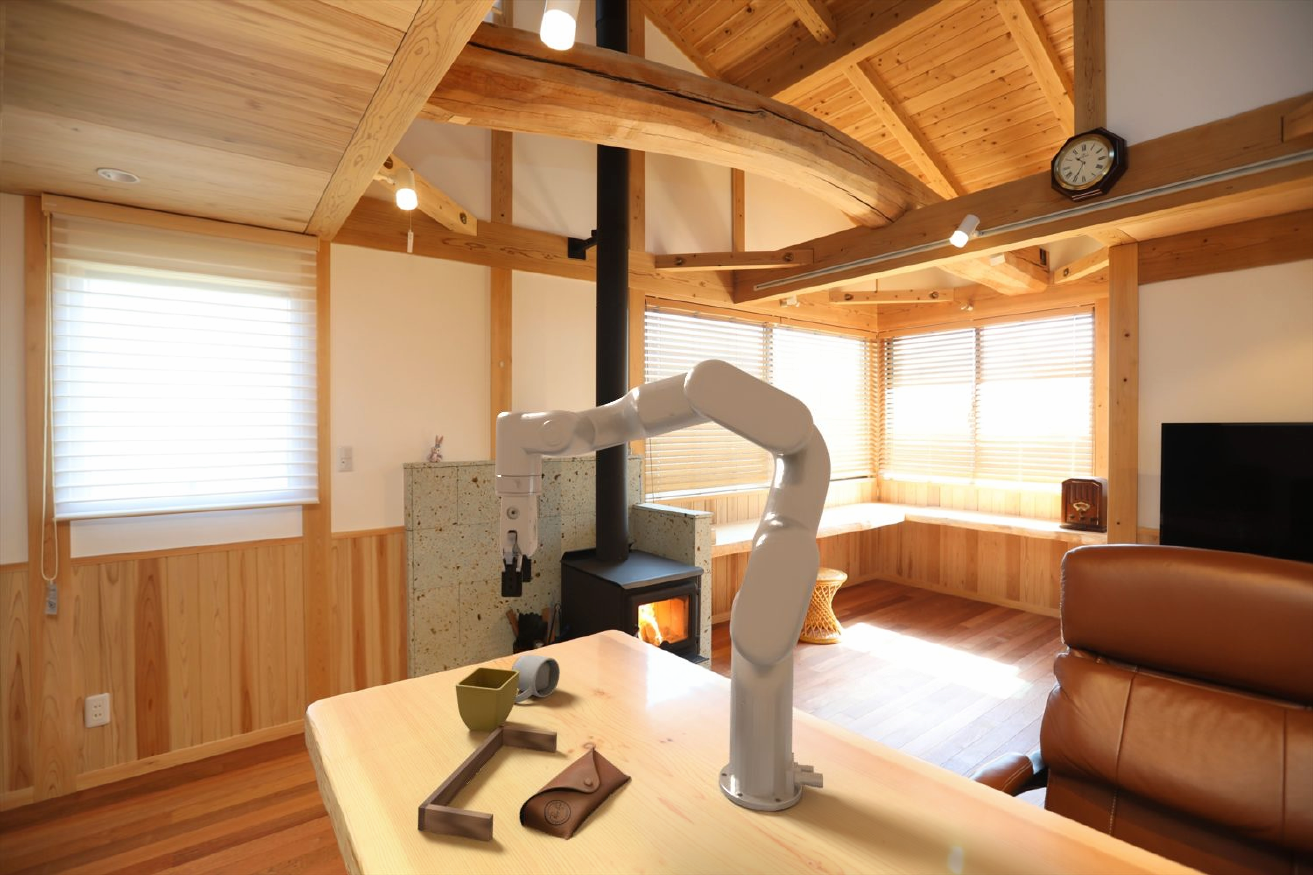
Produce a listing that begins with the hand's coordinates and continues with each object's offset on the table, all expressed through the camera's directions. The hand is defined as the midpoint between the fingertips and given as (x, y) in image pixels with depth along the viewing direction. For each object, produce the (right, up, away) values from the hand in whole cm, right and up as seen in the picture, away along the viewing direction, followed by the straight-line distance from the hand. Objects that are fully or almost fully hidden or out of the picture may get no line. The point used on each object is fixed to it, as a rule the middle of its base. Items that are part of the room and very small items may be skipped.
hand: (517, 588), depth 99 cm
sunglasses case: (+12, -29, -10) cm, 33 cm away
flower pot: (-8, -29, +11) cm, 32 cm away
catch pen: (-2, -28, -7) cm, 29 cm away
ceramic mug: (-3, -29, +25) cm, 38 cm away
